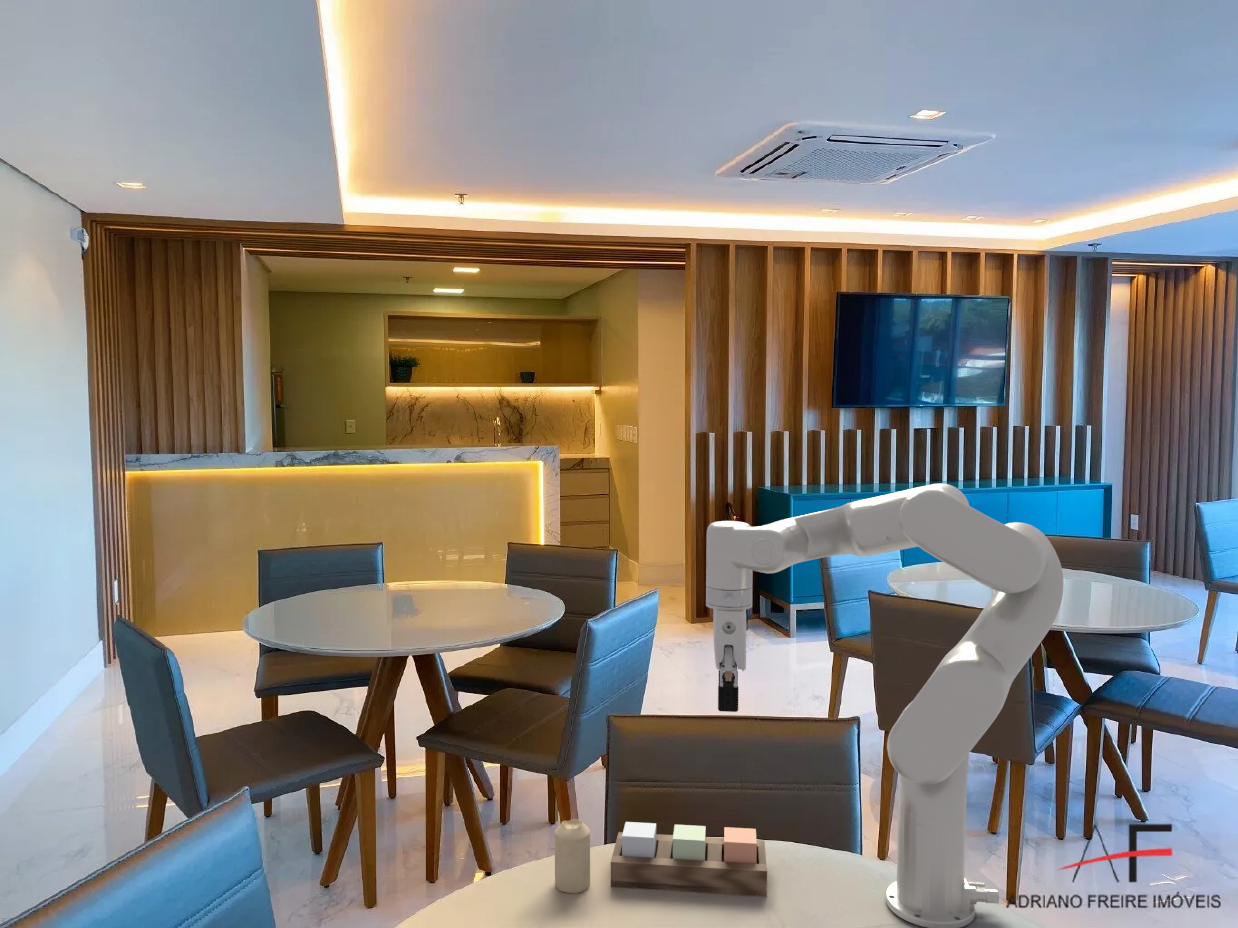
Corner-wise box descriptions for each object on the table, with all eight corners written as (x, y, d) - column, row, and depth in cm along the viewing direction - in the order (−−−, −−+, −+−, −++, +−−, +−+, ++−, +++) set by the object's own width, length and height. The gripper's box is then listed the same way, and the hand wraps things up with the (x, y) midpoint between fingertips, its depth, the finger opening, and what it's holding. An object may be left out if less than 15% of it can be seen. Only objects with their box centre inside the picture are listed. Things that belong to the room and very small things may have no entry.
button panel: (764, 864, 147) (764, 840, 147) (766, 896, 137) (767, 871, 137) (618, 855, 150) (618, 832, 150) (610, 886, 140) (610, 861, 140)
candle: (550, 891, 139) (549, 828, 138) (561, 873, 144) (560, 812, 144) (584, 895, 137) (584, 832, 137) (594, 877, 143) (594, 816, 142)
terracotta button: (755, 856, 145) (755, 828, 144) (756, 871, 140) (756, 843, 139) (724, 854, 145) (724, 827, 145) (724, 869, 140) (724, 841, 140)
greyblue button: (656, 850, 147) (656, 823, 146) (653, 865, 142) (653, 837, 141) (625, 848, 147) (625, 821, 147) (622, 863, 142) (622, 836, 142)
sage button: (705, 853, 146) (705, 826, 145) (704, 868, 141) (704, 840, 140) (674, 851, 146) (674, 824, 146) (672, 866, 141) (672, 838, 141)
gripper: (753, 609, 138) (752, 721, 139) (750, 587, 155) (749, 687, 156) (704, 607, 139) (703, 719, 140) (707, 586, 156) (706, 685, 157)
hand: (728, 701), depth 148 cm, fingers open, 8 cm apart
